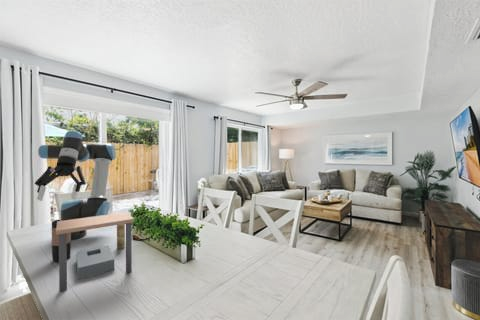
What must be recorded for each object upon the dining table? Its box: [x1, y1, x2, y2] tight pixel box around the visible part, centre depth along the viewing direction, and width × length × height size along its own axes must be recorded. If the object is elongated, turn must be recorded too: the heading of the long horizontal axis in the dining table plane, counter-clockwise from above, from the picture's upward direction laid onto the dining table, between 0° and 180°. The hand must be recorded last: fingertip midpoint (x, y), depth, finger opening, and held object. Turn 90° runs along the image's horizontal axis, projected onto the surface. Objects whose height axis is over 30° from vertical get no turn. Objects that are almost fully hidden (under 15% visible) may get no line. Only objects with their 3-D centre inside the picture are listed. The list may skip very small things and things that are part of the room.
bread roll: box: [132, 234, 141, 241], centre depth 147 cm, size 11×11×5 cm
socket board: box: [75, 244, 115, 280], centre depth 110 cm, size 20×14×5 cm
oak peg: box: [116, 224, 126, 250], centre depth 130 cm, size 4×4×14 cm
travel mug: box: [51, 219, 72, 264], centre depth 115 cm, size 8×8×20 cm
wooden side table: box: [56, 211, 135, 293], centre depth 102 cm, size 15×28×25 cm, turn 128°
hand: (56, 199), depth 104 cm, fingers open, 13 cm apart
